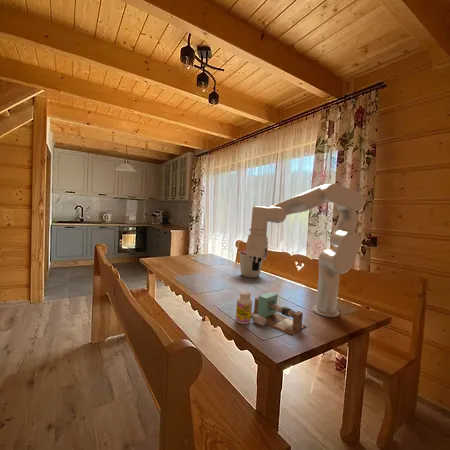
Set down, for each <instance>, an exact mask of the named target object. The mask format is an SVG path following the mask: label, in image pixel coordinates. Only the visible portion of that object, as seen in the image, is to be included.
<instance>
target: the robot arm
mask: <svg viewBox="0 0 450 450" xmlns="http://www.w3.org/2000/svg"><path fill="white" fill-rule="evenodd" d="M326 203H333V204H334V206H335V207H336V210H337V212H338V219H337V222H336V224H335V227H334V229H333V230H332V233H331V234H330V237H329V242H330V245H331V246H332V247H334V248H336V250H335V249H332V248H325V249H324V250H322V251H321V252H320V253H319V255H318V280H317V289H316V302H315V305H313V306H312V311H313V312H314V313H315V314H317V315H320V316H323V317H328V318H337V317H339V316H340V311H339V310H338V309H337V305H338V304H339V303H338V295H339V284H340V275H342V274H343V275H344V274H346V273H347V272H349V271H350V269H351V268H352V267H353V265H354V262H355V260H356V258H357V256H358V254H359V252H360V249H361V246H362V245H361V244H362V239H361V237H360V235H359V234H358V233H357V232H355V229H356V227H357V225H358V215H357V214H358V213H357V211H360V210H361V209H363V208H364V207H365V204H366V198H365V197H364V195H363V194H362V193H361V192H359V191H356V190H354V189H351V188H349V187H345V186H343V185H341V184H338V183H326V184H322V185H319V186H316V187H314V188H312V189H310V190H307V191H305V192H302V193H300V194H298V195H294V196H293V197H290V198H288V199H285V200H282V201H280V202H278V203H276V204H273V205H270V206H269V207H267V206H262V205H254V206H253V207H252V209H251V221H250V222H251V224H250V228H249V230H248V231H249V234H248V236H247V240H246V244H245V245H246V246H245V250H246V254H247V256H248V257H250V258H251V261H252V270H253V271H258V270H259V263H260V262H261V261H262V260H263V261H267V256H268V252H269V251H268V250H269V239H268V236H267V233H268V231H267V230H268V222H269V223H273V224H274V223H275V224H281V223H283V222H284V221H285V220H286V218H287V216H289V215H292V214H297V213H304V212H308V211H309V210H313V209H315V208H317V207H320V206H321V205H324V204H326ZM263 261H262V262H263Z"/></svg>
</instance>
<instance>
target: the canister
mask: <svg viewBox="0 0 450 450" xmlns="http://www.w3.org/2000/svg"><path fill="white" fill-rule="evenodd" d="M238 253H239V254H238V255H239V265H240V266H239V267H240V274H241V276H242V277H245V278H247V279H248V278H250V279H253V278H258V277H259V276H260V275H261V272H262V266H263V261H264V260H262V261H261V262H260V263H259V270H258V271H253V270H252V261H251V258H250V257H248V256H247V254H246V249H243V250H240V251H239V252H238Z"/></svg>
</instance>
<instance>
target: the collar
mask: <svg viewBox="0 0 450 450" xmlns="http://www.w3.org/2000/svg"><path fill="white" fill-rule="evenodd" d="M278 296H279V295H278V293H275V292H273V291H269V292H266V293H263V294H260V295H258V297H259V302H258V315H260V316H262V317H265V318H266V317H268V316H270V315H272V314H274V313H277V311H275V310H272V309H270V308H268V302H272V303H274V304H277V305H278Z"/></svg>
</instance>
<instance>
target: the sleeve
mask: <svg viewBox="0 0 450 450" xmlns="http://www.w3.org/2000/svg"><path fill="white" fill-rule="evenodd" d="M251 320H252V322H253V323H255V324H256V325H259V326H261V327H264V326H266V325H267V324H266V322H267V319H266V318H265V317H262V316H260V315H258V314H254V316H253V318H252V317H251Z"/></svg>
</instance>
